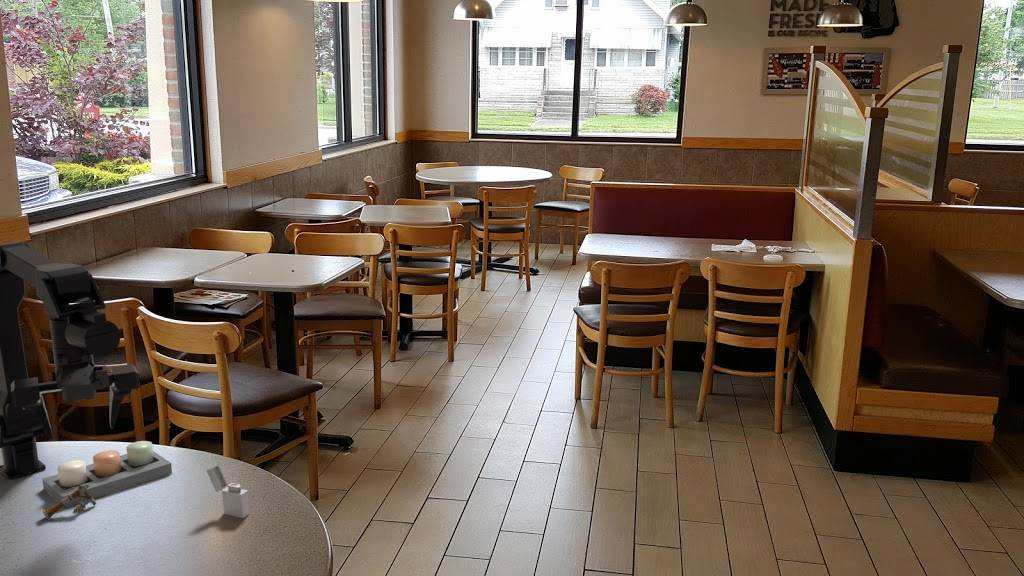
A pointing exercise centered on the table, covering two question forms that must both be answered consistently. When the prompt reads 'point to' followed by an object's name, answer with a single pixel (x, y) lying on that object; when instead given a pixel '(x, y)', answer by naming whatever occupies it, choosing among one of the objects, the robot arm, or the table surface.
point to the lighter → (229, 493)
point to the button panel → (110, 479)
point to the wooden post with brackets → (68, 499)
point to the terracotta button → (107, 463)
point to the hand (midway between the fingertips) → (82, 433)
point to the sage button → (140, 453)
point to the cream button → (72, 473)
